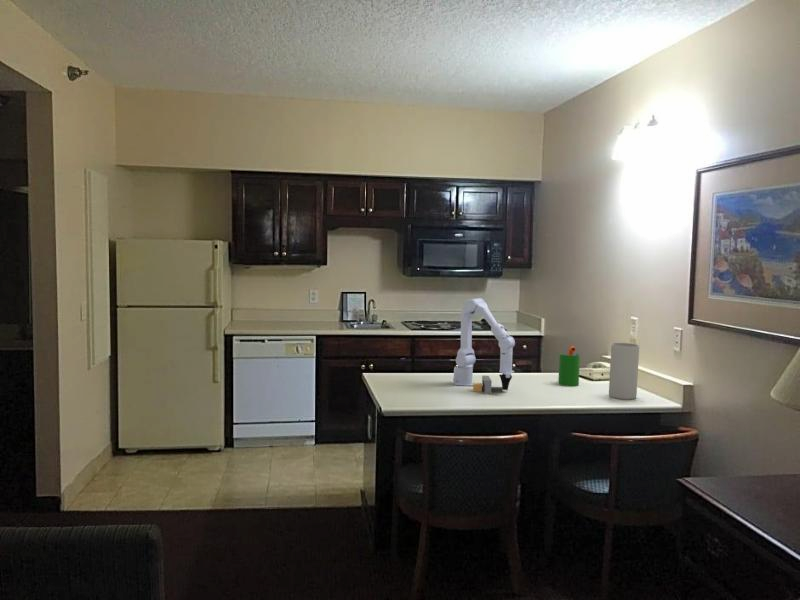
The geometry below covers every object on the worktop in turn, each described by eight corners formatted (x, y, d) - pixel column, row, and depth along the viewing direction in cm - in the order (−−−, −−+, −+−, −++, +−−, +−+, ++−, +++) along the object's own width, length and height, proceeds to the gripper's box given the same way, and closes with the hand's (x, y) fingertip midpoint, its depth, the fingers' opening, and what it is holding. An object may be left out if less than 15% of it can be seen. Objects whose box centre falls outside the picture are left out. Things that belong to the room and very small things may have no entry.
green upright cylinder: (572, 382, 342) (574, 344, 340) (582, 385, 334) (584, 347, 332) (555, 383, 339) (557, 344, 337) (565, 386, 331) (567, 347, 329)
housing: (484, 393, 310) (485, 380, 310) (481, 388, 322) (482, 375, 321) (491, 394, 310) (491, 380, 310) (487, 388, 322) (488, 375, 321)
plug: (473, 391, 315) (473, 384, 315) (473, 389, 319) (473, 382, 318) (502, 392, 314) (503, 385, 314) (502, 390, 318) (502, 383, 318)
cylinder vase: (604, 393, 317) (607, 342, 315) (629, 394, 318) (632, 342, 316) (614, 399, 305) (617, 346, 303) (640, 400, 306) (643, 347, 303)
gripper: (517, 364, 308) (516, 393, 309) (511, 359, 322) (510, 386, 323) (502, 364, 308) (501, 392, 309) (497, 359, 322) (496, 386, 323)
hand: (505, 389), depth 316 cm, fingers closed, pressing on plug
